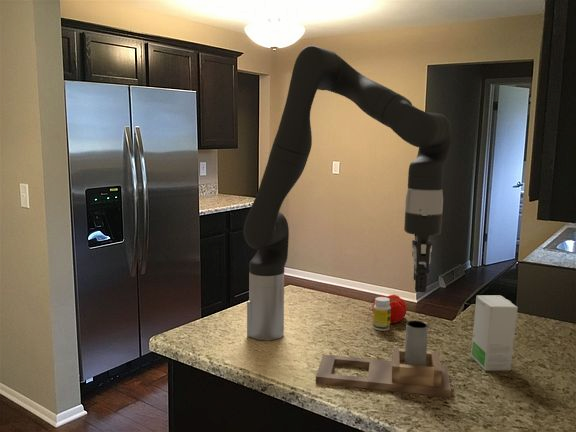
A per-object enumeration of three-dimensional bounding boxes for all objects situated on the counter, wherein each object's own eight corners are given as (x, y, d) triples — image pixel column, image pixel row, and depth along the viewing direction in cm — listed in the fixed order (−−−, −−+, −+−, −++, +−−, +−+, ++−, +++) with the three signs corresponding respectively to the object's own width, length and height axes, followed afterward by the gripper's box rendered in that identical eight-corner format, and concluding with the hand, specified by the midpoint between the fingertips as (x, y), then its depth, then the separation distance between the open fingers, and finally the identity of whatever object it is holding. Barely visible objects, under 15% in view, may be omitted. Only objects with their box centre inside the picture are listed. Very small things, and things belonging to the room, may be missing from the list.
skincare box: (470, 356, 128) (474, 294, 126) (496, 356, 128) (501, 294, 126) (485, 371, 120) (490, 305, 117) (513, 371, 120) (518, 305, 118)
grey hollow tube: (401, 365, 117) (403, 320, 115) (421, 364, 117) (423, 320, 116) (407, 374, 112) (410, 327, 111) (428, 373, 113) (431, 327, 111)
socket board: (315, 383, 113) (316, 361, 112) (323, 360, 125) (323, 340, 124) (451, 397, 108) (452, 373, 107) (445, 371, 119) (446, 350, 119)
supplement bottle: (389, 331, 144) (391, 302, 143) (372, 330, 145) (373, 300, 143) (390, 325, 148) (391, 297, 147) (373, 324, 149) (374, 295, 148)
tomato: (370, 324, 150) (371, 302, 149) (373, 312, 160) (374, 291, 159) (406, 327, 148) (407, 304, 147) (406, 314, 158) (407, 293, 157)
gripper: (404, 205, 117) (401, 276, 119) (405, 214, 103) (401, 294, 106) (439, 206, 115) (435, 278, 118) (445, 216, 102) (440, 297, 104)
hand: (419, 285), depth 112 cm, fingers open, 8 cm apart
